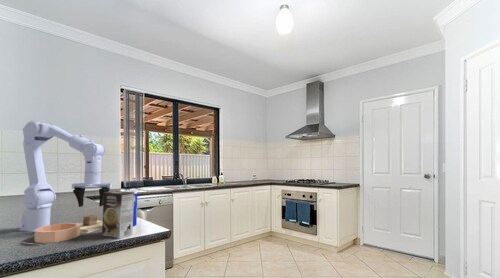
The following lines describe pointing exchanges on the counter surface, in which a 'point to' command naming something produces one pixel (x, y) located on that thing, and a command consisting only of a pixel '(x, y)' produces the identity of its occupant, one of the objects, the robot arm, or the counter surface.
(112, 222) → the coffee box
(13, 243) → the counter surface
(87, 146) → the robot arm
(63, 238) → the bowl
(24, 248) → the counter surface
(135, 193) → the beverage can
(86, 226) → the lid
